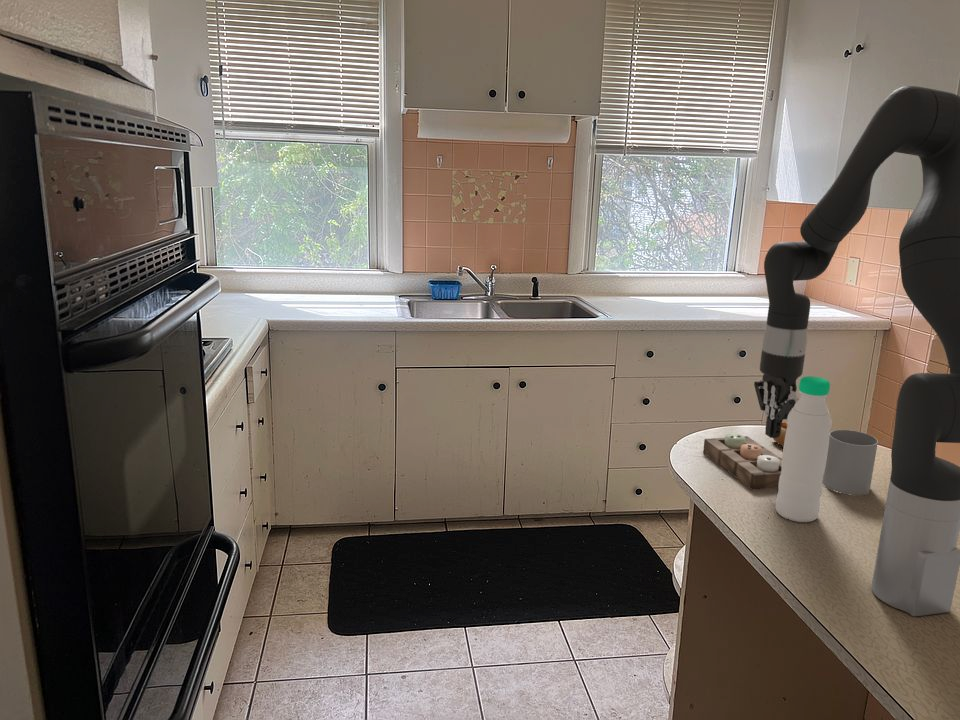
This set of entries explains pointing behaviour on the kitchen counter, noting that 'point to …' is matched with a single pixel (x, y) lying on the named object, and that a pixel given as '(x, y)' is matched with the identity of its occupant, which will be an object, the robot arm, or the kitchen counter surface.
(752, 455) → the button three
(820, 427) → the water bottle
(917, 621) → the kitchen counter surface
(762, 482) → the wooden compartment tray
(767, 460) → the button one
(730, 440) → the button two
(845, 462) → the cup
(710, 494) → the kitchen counter surface
